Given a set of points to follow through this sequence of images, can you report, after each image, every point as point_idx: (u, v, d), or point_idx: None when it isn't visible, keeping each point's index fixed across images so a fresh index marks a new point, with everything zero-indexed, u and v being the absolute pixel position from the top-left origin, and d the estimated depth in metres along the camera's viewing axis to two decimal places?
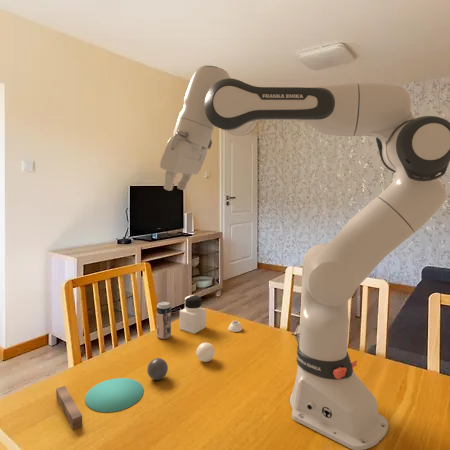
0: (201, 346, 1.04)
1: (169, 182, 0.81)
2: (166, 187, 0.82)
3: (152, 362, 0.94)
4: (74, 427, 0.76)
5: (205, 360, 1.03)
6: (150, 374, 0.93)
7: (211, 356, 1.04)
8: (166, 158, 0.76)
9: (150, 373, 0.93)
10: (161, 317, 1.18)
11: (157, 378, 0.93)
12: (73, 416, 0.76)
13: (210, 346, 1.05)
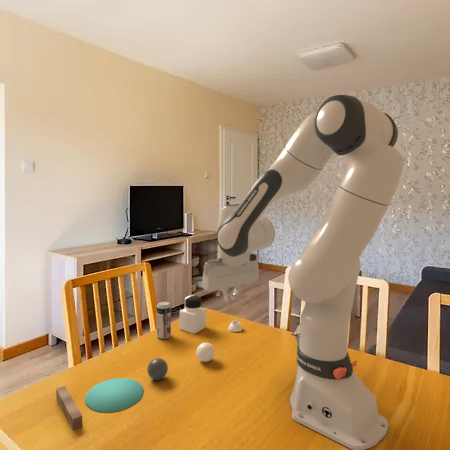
0: (201, 346, 1.04)
1: (225, 295, 1.08)
2: (225, 299, 1.08)
3: (152, 362, 0.94)
4: (74, 427, 0.76)
5: (205, 360, 1.03)
6: (150, 374, 0.93)
7: (211, 356, 1.04)
8: (204, 282, 1.03)
9: (150, 373, 0.93)
10: (161, 317, 1.18)
11: (157, 378, 0.93)
12: (73, 416, 0.76)
13: (210, 346, 1.05)
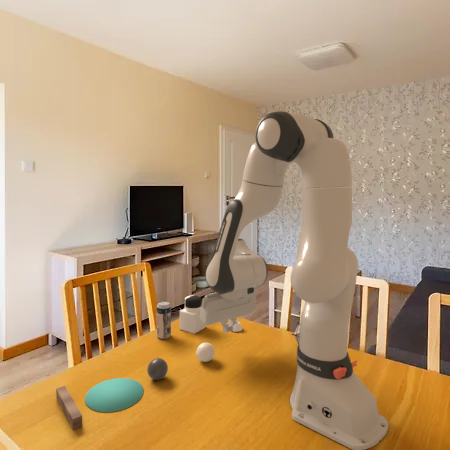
0: (201, 346, 1.04)
1: (224, 326, 1.10)
2: (223, 330, 1.11)
3: (152, 362, 0.94)
4: (74, 427, 0.76)
5: (205, 360, 1.03)
6: (150, 374, 0.93)
7: (211, 356, 1.04)
8: (202, 316, 1.04)
9: (150, 373, 0.93)
10: (161, 317, 1.18)
11: (157, 378, 0.93)
12: (73, 416, 0.76)
13: (210, 346, 1.05)
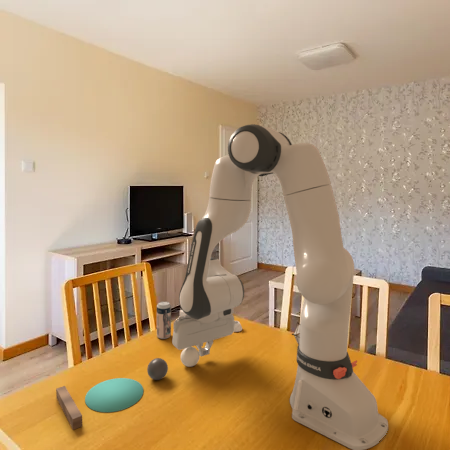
0: (182, 360, 1.01)
1: (200, 350, 1.05)
2: (199, 353, 1.05)
3: (152, 362, 0.94)
4: (74, 427, 0.76)
5: (195, 363, 1.02)
6: (150, 374, 0.93)
7: (196, 358, 1.01)
8: (174, 340, 0.99)
9: (150, 373, 0.93)
10: (161, 317, 1.18)
11: (157, 378, 0.93)
12: (73, 416, 0.76)
13: (187, 354, 1.00)
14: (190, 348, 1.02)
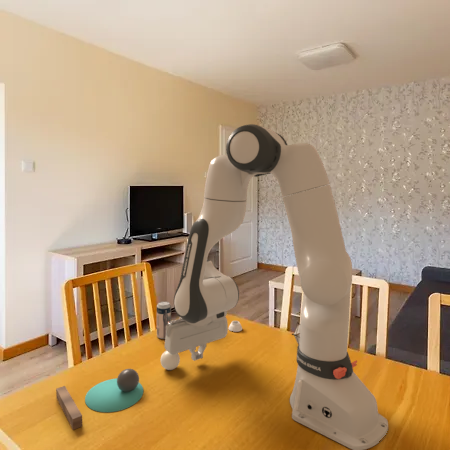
0: None
1: (193, 354, 1.02)
2: (192, 358, 1.03)
3: None
4: (74, 427, 0.76)
5: None
6: (138, 377, 0.91)
7: (171, 357, 0.98)
8: (166, 344, 0.97)
9: None
10: (161, 317, 1.18)
11: (136, 376, 0.89)
12: (73, 416, 0.76)
13: (171, 367, 0.98)
14: (164, 366, 0.99)
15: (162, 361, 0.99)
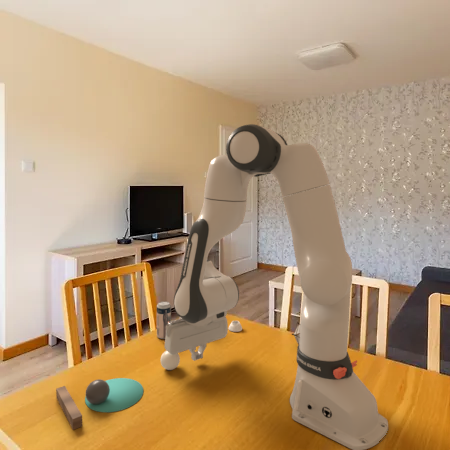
0: None
1: (193, 354, 1.02)
2: (192, 358, 1.03)
3: (94, 382, 0.84)
4: (74, 427, 0.76)
5: None
6: (88, 395, 0.82)
7: (171, 357, 0.98)
8: (166, 344, 0.97)
9: (88, 394, 0.82)
10: (161, 317, 1.18)
11: (94, 402, 0.82)
12: (73, 416, 0.76)
13: (171, 367, 0.98)
14: (164, 366, 0.99)
15: (162, 361, 0.99)
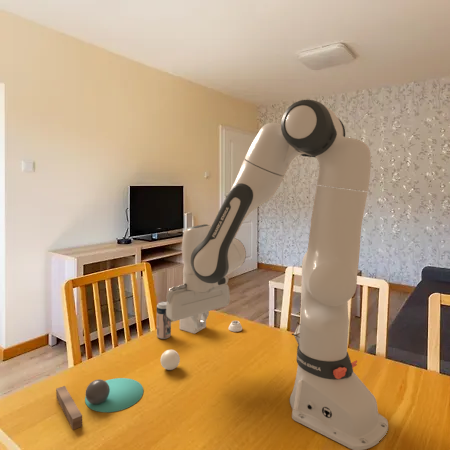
0: None
1: (195, 322, 1.01)
2: (195, 326, 1.01)
3: (94, 382, 0.84)
4: (74, 427, 0.76)
5: (174, 352, 1.00)
6: (88, 395, 0.82)
7: (171, 357, 0.98)
8: (168, 311, 0.96)
9: (88, 394, 0.82)
10: (161, 317, 1.18)
11: (94, 402, 0.82)
12: (73, 416, 0.76)
13: (171, 367, 0.98)
14: (164, 366, 0.99)
15: (162, 361, 0.99)
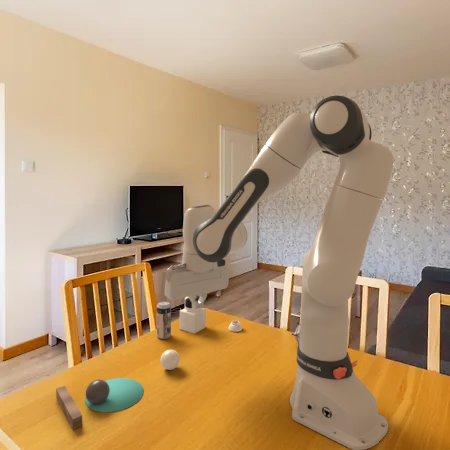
0: None
1: (193, 303, 1.00)
2: (193, 307, 1.01)
3: (94, 382, 0.84)
4: (74, 427, 0.76)
5: (174, 352, 1.00)
6: (88, 395, 0.82)
7: (171, 357, 0.98)
8: (166, 290, 0.95)
9: (88, 394, 0.82)
10: (161, 317, 1.18)
11: (94, 402, 0.82)
12: (73, 416, 0.76)
13: (171, 367, 0.98)
14: (164, 366, 0.99)
15: (162, 361, 0.99)
